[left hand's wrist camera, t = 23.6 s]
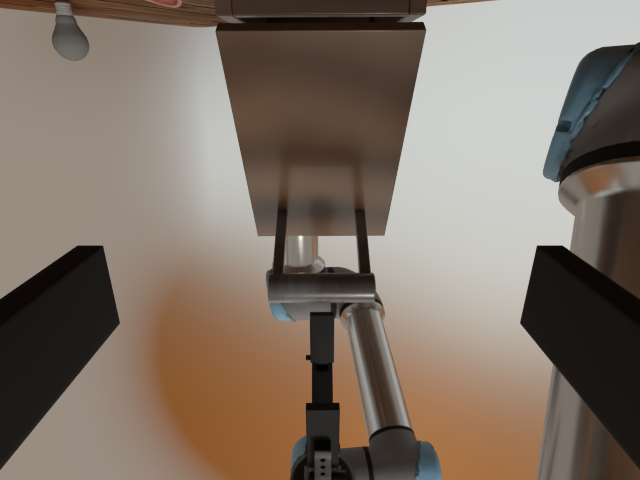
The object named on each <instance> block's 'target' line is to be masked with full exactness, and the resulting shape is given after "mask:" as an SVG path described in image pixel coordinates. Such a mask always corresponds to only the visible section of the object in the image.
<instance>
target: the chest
mask: <svg viewBox="0 0 640 480" xmlns="http://www.w3.org/2000/svg"><path fill="white" fill-rule="evenodd" d="M214 1H215V12H216V15H217V16H219V17H220V18H222V19H224V20H226V21H228V22H229V23H342V22H412V21H414V20H416V19H417V18H419V17H421V16H423V15H424V14H425V13H426V5H427V0H214Z"/></svg>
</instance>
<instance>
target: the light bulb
mask: <svg viewBox="0 0 640 480" xmlns="http://www.w3.org/2000/svg"><path fill="white" fill-rule="evenodd" d="M54 4H55V5H56V6H55V7H56V10H57V11H56V15H57V16H56V26H55V29H54V32H53V35H52V43H53V46H54V48H55V50H56V51H57V52H58V53H59V54H60V55H61V56H62V57H64V58H66V59H68V60H72V61H77V60H81V59H83V58H84V57H85V56H86V55H87V53H88V51H89V43H88V40H87V38H86V36H85V35H84V33H83V32H82V31H81V29H80V28H79V27H78V25H77V22H76V20H75V18H74V17H73V13H72V10H71V9H72V8H70V7H71V4H69V3H67V2H66V1H62V0H59V1H57V2H55V3H54Z"/></svg>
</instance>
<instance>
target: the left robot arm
mask: <svg viewBox="0 0 640 480" xmlns="http://www.w3.org/2000/svg"><path fill="white" fill-rule="evenodd" d="M543 175H544V177H545V178H547V179H551V180H552V181H554V182H558V181H560V184H559V191H558V196H559V201H560V203H561V204H562V205H563V206H564V207H565V208H566V209H567V210H568V211H569V212H570V213H571V214H573V215H574V216H575V220H574V227H573V234H572V241H571V247H570V251H569V250H568V249H567V248H565V247H564V246H537V248H536V253H535V258H534V262H533V267H532V271H531V276H530V280H529V285H528V290H527V294H526V299H525V303H524V308H523V312H522V317H521V322H520V324H521V325H522V326H523V327H524V329H525V330H526V331H527V332H528V333H529V335H530V336H531V337H532V338H533V340H534V341H535V342H536V343H537V344H538V346H539V347H540V348H541V349H542V351H543V352H544V353H545V354H546V356H547V357H548V358H549V359H550V360H551V362H552V363H553V369H552V376H551V382H550V389H549V396H548V403H547V409H546V416H545V423H544V429H543V436H542V443H541V450H540V456H539V463H538V470H537V477H536V480H640V42H639V43H637V44H635V45H622V46H610V47H601V48H599V49H596V50H594V51H592V52H590V53H588V54H587V55H586V56H585V57H584V58H583V59H582V60H581V61H580V63H579V65H578V67H577V69H576V71H575V74H574V76H573V79H572V82H571V84H570V87H569V90H568V93H567V96H566V99H565V102H564V105H563V108H562V111H561V114H560V117H559V121H558V125H557V127H556V130H555V133H554V136H553V138H552V142H551V145H550V148H549V151H548V155H547V158H546V161H545V165H544V169H543ZM119 324H120V322H119V317H118V313H117V308H116V303H115V299H114V294H113V290H112V285H111V280H110V276H109V271H108V267H107V262H106V258H105V253H104V248H103V246H76V247H75V248H74V249H72V250H71V251H69V252H68V253H66V254H65V255H63V256H62V257H61V258H59V259H58V260H56V261H55V262H53V263H52V264H50V265H49V266H48V267H46V268H45V269H43V270H42V271H40V272H39V273H37V274H36V275H35V276H33V277H32V278H30V279H29V280H27V281H26V282H24V283H23V284H21V285H20V286H19V287H17V288H16V289H14V290H13V291H11V292H10V293H9V294H7V295H6V296H4V297H3V298H1V299H0V470H1V468H2V467H3V466H4V465H5V463H6V462H7V461H8V460H9V459H10V457H11V456H12V455H13V454H14V452H15V451H16V450H17V449H18V448H19V446H20V445H21V444H22V443H23V441H24V440H25V439H26V438H27V436H28V435H29V434H30V433H31V432H32V430H33V429H34V428H35V427H36V425H37V424H38V423H39V422H40V421H41V419H42V418H43V417H44V416H45V414H46V413H47V412H48V411H49V410H50V408H51V407H52V406H53V405H54V403H55V402H56V401H57V400H58V398H59V397H60V396H61V395H62V393H63V392H64V391H65V390H66V389H67V387H68V386H69V385H70V384H71V382H72V381H73V380H74V379H75V378H76V376H77V375H78V374H79V373H80V371H81V370H82V369H83V368H84V366H85V365H86V364H87V363H88V362H89V360H90V359H91V358H92V357H93V356H94V354H95V353H96V352H97V351H98V349H99V348H100V347H101V346H102V344H103V343H104V342H105V341H106V340H107V338H108V337H109V336H110V335H111V333H112V332H113V331H114V330H115V329H116V327H117V326H118V325H119Z"/></svg>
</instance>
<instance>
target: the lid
mask: <svg viewBox="0 0 640 480" xmlns="http://www.w3.org/2000/svg"><path fill="white" fill-rule="evenodd" d="M425 33H426V28H425V25H424V23H423V22H342V23H218V25H217V28H216V36H217V41H218V45H219V50H220V55H221V60H222V65H223V70H224V74H225V79H226V84H227V89H228V94H229V98H230V103H231V108H232V113H233V118H234V122H235V127H236V132H237V137H238V141H239V146H240V151H241V156H242V160H243V166H244V170H245V175H246V180H247V185H248V190H249V194H250V199H251V204H252V209H253V214H254V218H255V223H256V228H257V233H258V236H275V248H274V260H273V273H270V274H269V278H268V300H269V302H270V303H373V302H374V301H375V294H376V285H375V276H374V274H373V273H371V271H370V260H369V249H368V238H367V236H372V235H384V234H385V230H386V225H387V220H388V215H389V210H390V205H391V200H392V195H393V190H394V185H395V180H396V176H397V171H398V166H399V161H400V156H401V151H402V146H403V141H404V136H405V131H406V126H407V122H408V116H409V112H410V107H411V102H412V97H413V92H414V87H415V82H416V77H417V72H418V68H419V63H420V58H421V53H422V48H423V43H424V38H425ZM286 236H356V238H357V252H358V266H359V273H284V266H285V249H286Z"/></svg>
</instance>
